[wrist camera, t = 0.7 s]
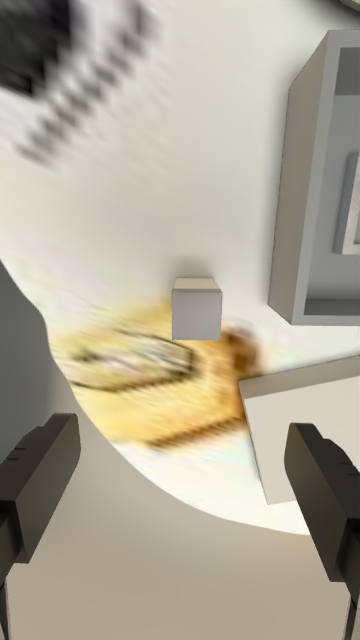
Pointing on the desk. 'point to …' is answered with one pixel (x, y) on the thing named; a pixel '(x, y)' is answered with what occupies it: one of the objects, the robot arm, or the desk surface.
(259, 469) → the disc drive
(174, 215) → the desk surface
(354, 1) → the bowl
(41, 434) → the robot arm
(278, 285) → the box
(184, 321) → the block
